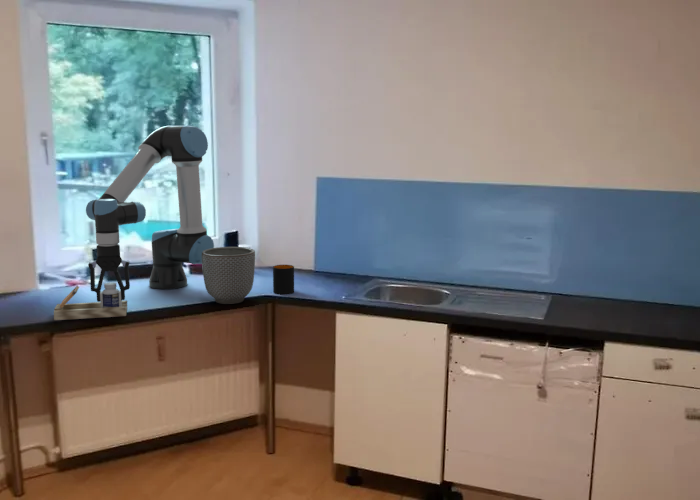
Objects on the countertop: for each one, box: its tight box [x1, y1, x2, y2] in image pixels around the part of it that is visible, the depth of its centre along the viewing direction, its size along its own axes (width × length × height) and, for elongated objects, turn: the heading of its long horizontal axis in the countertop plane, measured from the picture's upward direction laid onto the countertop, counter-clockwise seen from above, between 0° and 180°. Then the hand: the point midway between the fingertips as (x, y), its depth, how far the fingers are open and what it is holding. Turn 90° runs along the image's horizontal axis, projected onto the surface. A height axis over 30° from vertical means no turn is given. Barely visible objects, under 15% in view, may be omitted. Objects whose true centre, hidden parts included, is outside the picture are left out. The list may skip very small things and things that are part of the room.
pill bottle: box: [102, 281, 120, 308], centre depth 240 cm, size 5×5×10 cm
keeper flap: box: [59, 285, 80, 308], centre depth 236 cm, size 7×9×1 cm
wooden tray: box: [53, 300, 128, 321], centre depth 239 cm, size 23×10×4 cm, turn 105°
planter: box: [201, 246, 256, 305], centre depth 257 cm, size 20×20×19 cm
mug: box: [272, 264, 295, 296], centre depth 274 cm, size 8×12×10 cm
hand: (111, 309), depth 241 cm, fingers closed on pill bottle, 5 cm apart
